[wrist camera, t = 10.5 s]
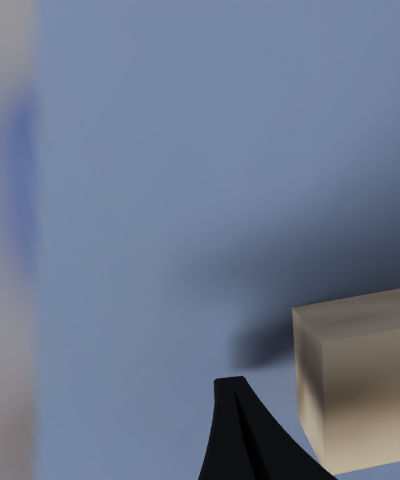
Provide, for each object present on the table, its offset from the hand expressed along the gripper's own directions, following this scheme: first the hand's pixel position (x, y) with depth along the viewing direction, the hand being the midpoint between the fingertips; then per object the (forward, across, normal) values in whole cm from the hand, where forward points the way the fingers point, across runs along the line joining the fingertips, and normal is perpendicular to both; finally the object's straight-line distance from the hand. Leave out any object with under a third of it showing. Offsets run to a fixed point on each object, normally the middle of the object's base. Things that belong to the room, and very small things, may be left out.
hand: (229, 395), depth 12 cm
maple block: (+2, -7, 0) cm, 8 cm away
